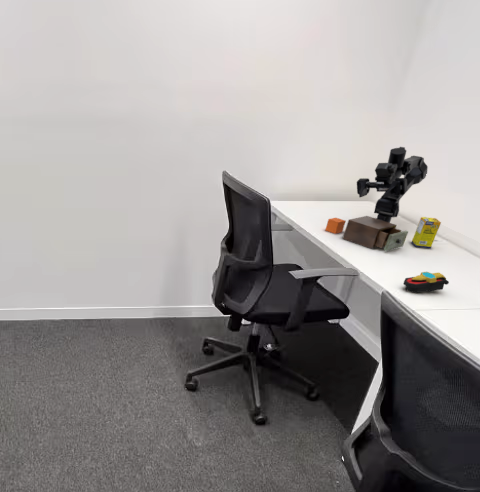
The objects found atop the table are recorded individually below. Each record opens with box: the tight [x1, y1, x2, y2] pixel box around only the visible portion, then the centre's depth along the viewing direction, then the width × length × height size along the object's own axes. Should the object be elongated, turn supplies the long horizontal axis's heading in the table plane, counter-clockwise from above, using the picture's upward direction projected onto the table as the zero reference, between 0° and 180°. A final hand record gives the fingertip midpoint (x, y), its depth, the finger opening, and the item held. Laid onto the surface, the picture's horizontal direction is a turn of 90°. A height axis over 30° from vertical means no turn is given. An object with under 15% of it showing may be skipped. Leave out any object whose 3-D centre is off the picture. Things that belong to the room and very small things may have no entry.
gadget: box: [403, 271, 450, 293], centre depth 185 cm, size 6×13×6 cm, turn 95°
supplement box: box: [410, 216, 442, 249], centre depth 223 cm, size 6×6×11 cm
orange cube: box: [325, 217, 346, 235], centre depth 236 cm, size 5×5×5 cm
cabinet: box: [342, 215, 397, 250], centre depth 225 cm, size 14×13×8 cm
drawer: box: [374, 228, 409, 252], centre depth 221 cm, size 14×11×6 cm
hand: (371, 196), depth 218 cm, fingers open, 9 cm apart
